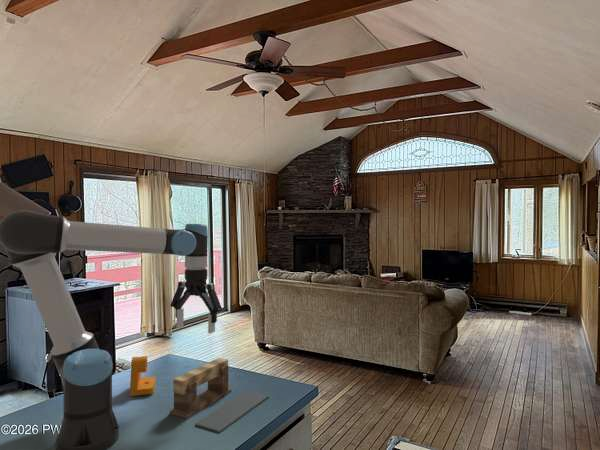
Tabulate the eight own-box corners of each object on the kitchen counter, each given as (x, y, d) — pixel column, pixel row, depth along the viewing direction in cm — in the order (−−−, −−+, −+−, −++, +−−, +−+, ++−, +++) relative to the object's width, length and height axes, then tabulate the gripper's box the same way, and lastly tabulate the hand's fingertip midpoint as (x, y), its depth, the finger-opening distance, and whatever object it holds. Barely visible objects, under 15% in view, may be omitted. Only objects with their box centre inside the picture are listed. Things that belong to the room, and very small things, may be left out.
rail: (183, 394, 123) (183, 381, 123) (173, 391, 125) (173, 379, 125) (228, 370, 143) (228, 359, 143) (219, 368, 145) (219, 357, 145)
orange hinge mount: (152, 396, 139) (152, 360, 138) (130, 398, 137) (129, 362, 137) (155, 383, 149) (155, 351, 149) (134, 385, 147) (134, 352, 147)
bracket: (186, 418, 123) (186, 387, 123) (169, 413, 126) (169, 382, 126) (231, 391, 142) (231, 364, 142) (215, 387, 145) (215, 361, 145)
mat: (219, 433, 114) (219, 430, 114) (195, 425, 119) (195, 423, 119) (268, 397, 138) (268, 395, 138) (246, 392, 142) (246, 390, 142)
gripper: (232, 269, 139) (232, 331, 139) (175, 265, 149) (174, 323, 149) (219, 271, 132) (218, 337, 132) (160, 267, 142) (159, 328, 142)
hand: (195, 330), depth 140 cm, fingers open, 13 cm apart
